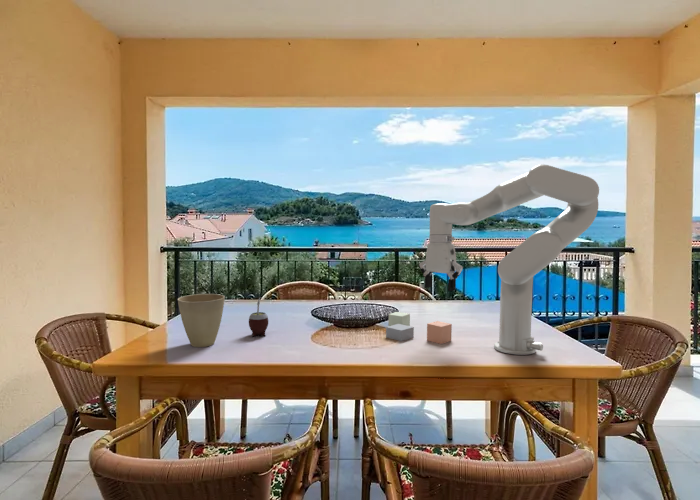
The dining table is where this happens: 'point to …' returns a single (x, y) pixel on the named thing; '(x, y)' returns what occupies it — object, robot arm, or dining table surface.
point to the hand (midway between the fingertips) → (439, 288)
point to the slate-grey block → (399, 332)
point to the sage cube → (399, 319)
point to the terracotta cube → (439, 332)
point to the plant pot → (201, 317)
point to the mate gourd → (258, 322)
